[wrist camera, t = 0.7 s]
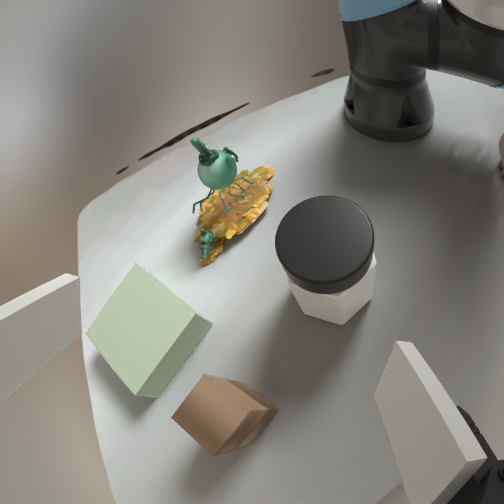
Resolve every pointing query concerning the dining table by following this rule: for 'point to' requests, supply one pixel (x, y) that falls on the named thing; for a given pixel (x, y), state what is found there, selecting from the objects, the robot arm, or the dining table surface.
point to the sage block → (146, 333)
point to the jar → (328, 257)
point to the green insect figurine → (227, 198)
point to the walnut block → (223, 414)
